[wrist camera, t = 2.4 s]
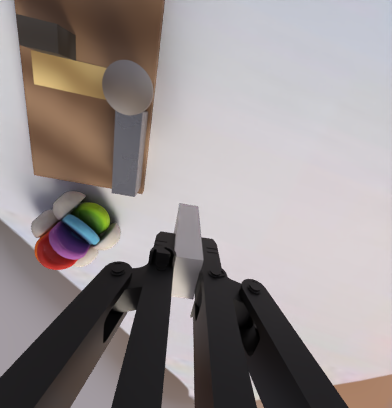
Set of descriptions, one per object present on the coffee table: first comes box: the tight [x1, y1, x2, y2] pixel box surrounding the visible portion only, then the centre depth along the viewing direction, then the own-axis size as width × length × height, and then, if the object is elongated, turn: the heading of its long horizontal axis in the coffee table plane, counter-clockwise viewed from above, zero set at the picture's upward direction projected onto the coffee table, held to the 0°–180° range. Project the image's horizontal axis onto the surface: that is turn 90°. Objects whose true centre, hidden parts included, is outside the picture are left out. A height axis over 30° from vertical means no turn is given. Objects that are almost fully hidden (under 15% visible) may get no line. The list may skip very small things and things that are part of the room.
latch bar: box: [112, 110, 149, 197], centre depth 22 cm, size 8×2×3 cm, turn 168°
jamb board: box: [14, 0, 165, 194], centre depth 20 cm, size 20×13×5 cm, turn 168°
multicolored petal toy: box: [31, 191, 121, 270], centre depth 26 cm, size 8×10×7 cm
